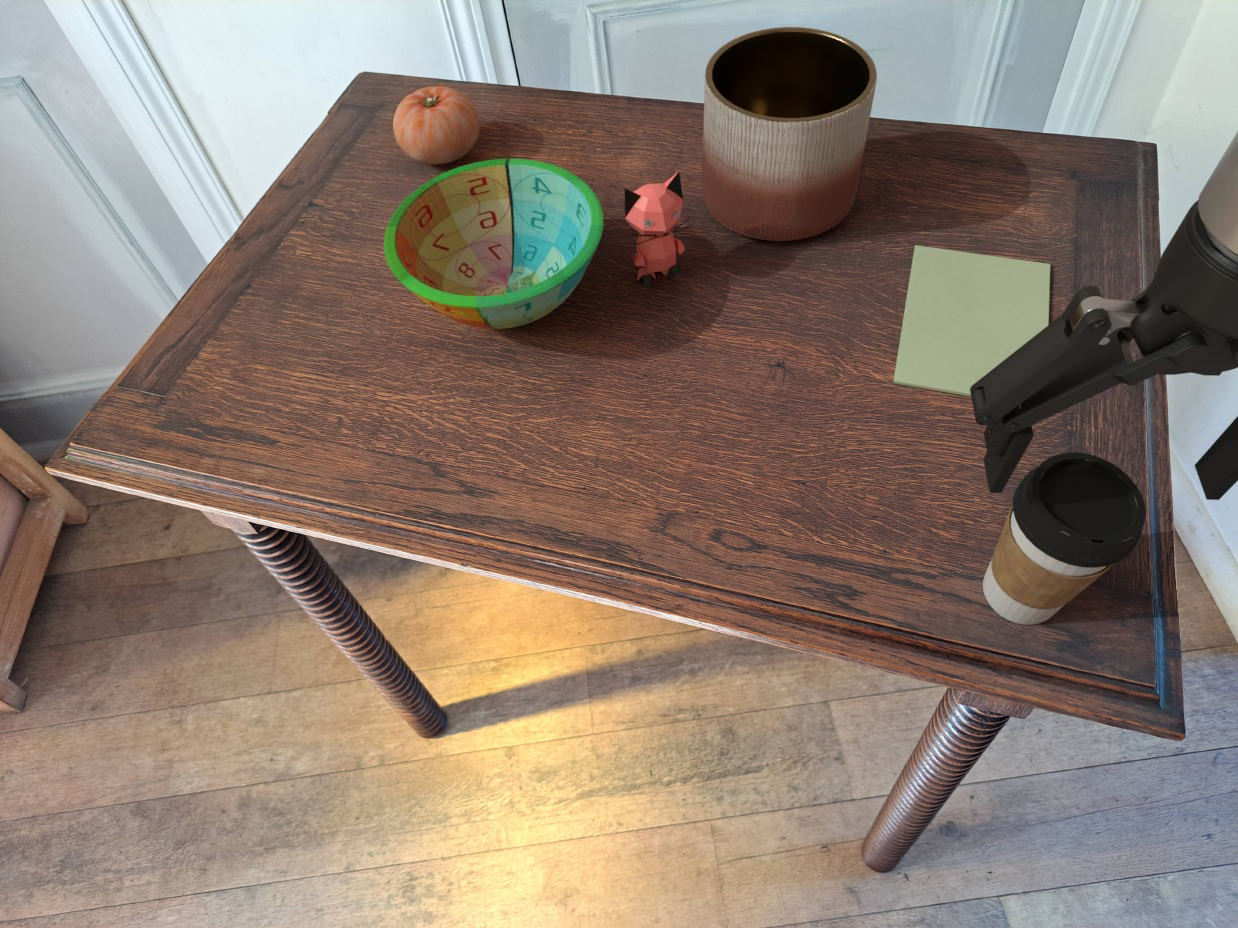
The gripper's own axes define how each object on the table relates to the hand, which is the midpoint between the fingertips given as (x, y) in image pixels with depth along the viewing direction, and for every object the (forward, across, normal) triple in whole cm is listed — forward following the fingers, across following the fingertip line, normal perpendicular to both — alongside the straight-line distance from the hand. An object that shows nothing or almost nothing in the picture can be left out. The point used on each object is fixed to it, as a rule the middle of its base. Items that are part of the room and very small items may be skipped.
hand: (1097, 479), depth 57 cm
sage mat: (+17, -1, -30) cm, 35 cm away
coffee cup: (+17, 0, 0) cm, 17 cm away
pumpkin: (+17, +61, -59) cm, 87 cm away
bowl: (+17, +48, -33) cm, 61 cm away
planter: (+17, +19, -50) cm, 56 cm away
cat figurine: (+17, +32, -38) cm, 52 cm away
